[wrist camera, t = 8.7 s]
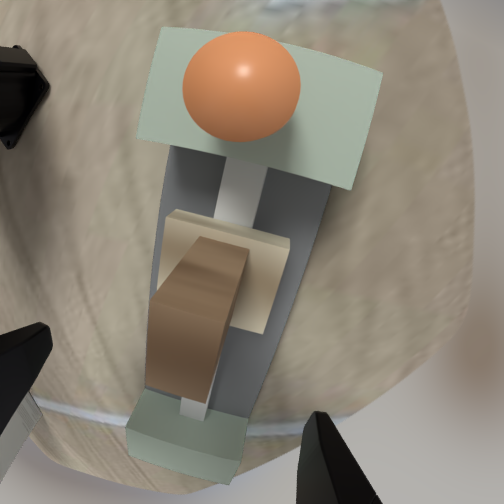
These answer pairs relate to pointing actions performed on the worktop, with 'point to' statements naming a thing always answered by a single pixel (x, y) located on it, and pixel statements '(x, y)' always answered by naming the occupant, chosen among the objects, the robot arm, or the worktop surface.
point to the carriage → (207, 297)
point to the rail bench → (274, 218)
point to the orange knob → (241, 87)
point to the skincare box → (17, 432)
